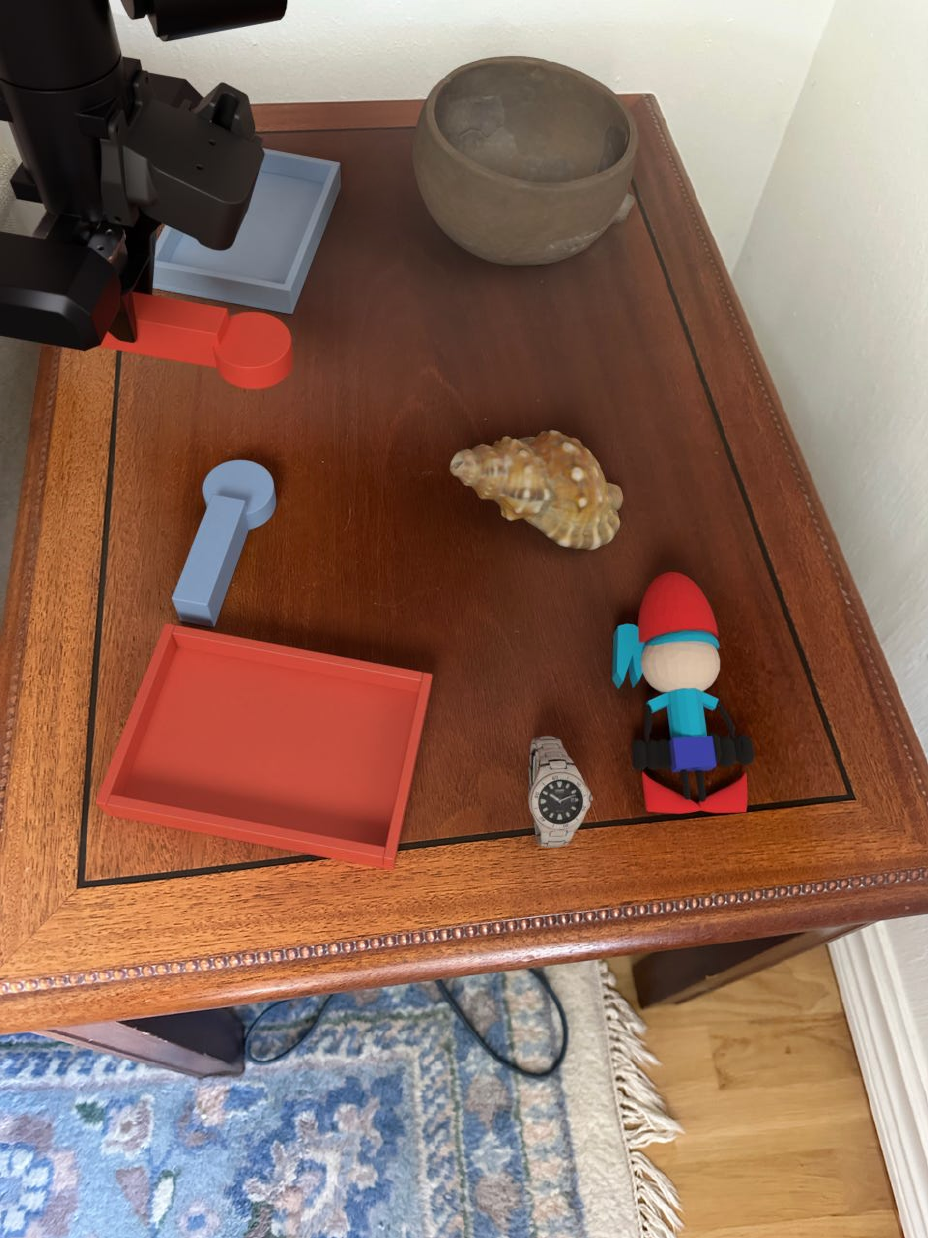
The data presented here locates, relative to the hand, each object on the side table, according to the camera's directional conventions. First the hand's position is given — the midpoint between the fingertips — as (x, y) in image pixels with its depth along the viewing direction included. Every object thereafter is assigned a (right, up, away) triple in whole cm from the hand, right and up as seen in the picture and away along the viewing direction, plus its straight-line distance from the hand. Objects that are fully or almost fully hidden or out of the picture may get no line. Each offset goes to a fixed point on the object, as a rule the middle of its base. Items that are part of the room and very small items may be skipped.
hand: (134, 325), depth 54 cm
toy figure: (+33, -23, +3) cm, 40 cm away
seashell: (+24, -10, +9) cm, 28 cm away
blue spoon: (+4, -13, +6) cm, 14 cm away
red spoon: (+3, -1, +1) cm, 4 cm away
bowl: (+24, +16, +24) cm, 37 cm away
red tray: (+9, -25, -1) cm, 27 cm away
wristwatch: (+24, -28, -1) cm, 37 cm away
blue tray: (+2, +14, +21) cm, 25 cm away
